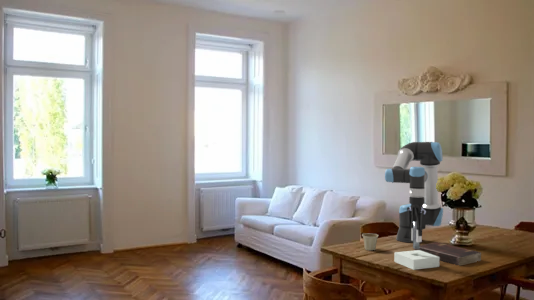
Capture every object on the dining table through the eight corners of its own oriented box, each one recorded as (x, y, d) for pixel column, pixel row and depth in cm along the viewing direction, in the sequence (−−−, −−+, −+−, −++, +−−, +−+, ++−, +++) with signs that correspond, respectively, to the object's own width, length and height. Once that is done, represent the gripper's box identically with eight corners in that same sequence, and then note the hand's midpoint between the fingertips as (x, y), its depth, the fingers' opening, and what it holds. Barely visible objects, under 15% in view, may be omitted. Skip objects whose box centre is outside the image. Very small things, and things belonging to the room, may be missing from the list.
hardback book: (414, 254, 266) (414, 246, 266) (436, 250, 276) (436, 242, 276) (458, 266, 242) (459, 257, 241) (481, 261, 251) (481, 252, 251)
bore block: (419, 259, 255) (419, 249, 255) (439, 266, 240) (439, 256, 240) (394, 261, 249) (394, 252, 249) (413, 269, 234) (413, 259, 234)
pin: (416, 247, 246) (417, 220, 246) (421, 248, 243) (421, 221, 243) (411, 247, 245) (411, 221, 245) (415, 249, 242) (416, 222, 242)
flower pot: (378, 251, 271) (378, 237, 271) (362, 251, 273) (362, 236, 273) (378, 248, 280) (378, 233, 280) (362, 247, 282) (362, 233, 282)
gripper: (401, 195, 250) (400, 238, 250) (421, 198, 235) (420, 245, 235) (412, 194, 253) (412, 237, 253) (433, 197, 237) (433, 243, 238)
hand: (416, 241), depth 244 cm, fingers closed on pin, 3 cm apart
